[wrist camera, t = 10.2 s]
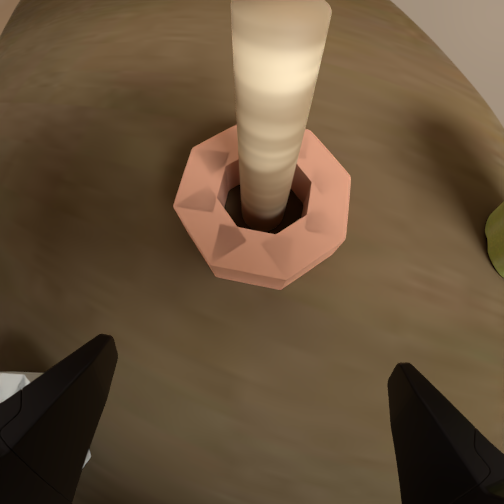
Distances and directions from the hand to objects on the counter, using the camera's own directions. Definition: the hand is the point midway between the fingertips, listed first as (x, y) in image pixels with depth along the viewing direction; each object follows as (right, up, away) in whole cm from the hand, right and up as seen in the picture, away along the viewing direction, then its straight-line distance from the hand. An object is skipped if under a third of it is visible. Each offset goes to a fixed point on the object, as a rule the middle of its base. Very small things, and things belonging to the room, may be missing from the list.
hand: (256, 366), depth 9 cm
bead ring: (+1, +6, +11) cm, 12 cm away
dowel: (0, +6, +11) cm, 12 cm away
